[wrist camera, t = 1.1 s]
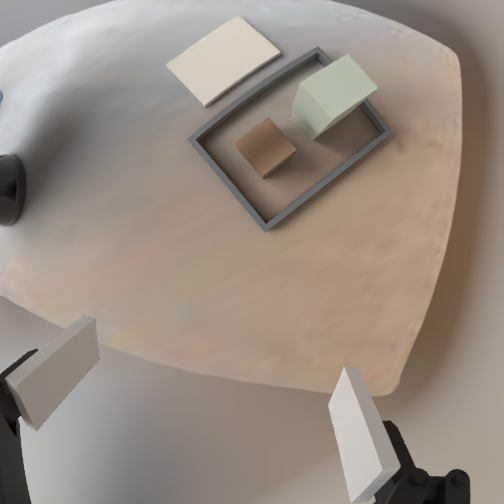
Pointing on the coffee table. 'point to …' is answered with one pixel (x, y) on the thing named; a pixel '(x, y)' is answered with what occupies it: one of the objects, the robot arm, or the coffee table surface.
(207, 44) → the tile
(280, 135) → the walnut block
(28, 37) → the coffee table surface
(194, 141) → the grey rectangular frame
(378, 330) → the coffee table surface
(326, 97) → the sage box
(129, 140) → the coffee table surface
